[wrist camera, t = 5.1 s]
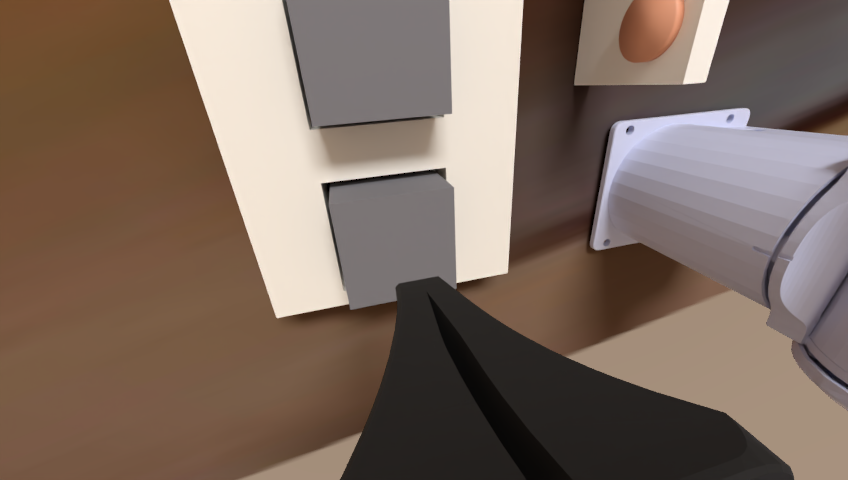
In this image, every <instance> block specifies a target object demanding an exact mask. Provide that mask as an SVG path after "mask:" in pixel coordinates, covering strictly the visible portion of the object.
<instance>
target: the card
mask: <svg viewBox="0 0 848 480" xmlns="http://www.w3.org/2000/svg"><path fill="white" fill-rule="evenodd" d="M728 3H729V0H585V1H584V9H583V17H582V25H581V33H580V41H579V49H578V56H577V64H576V72H575V80H574V85H661V84H692V83H703V82H706V79H707V76H708V72H709V69H710V65H711V62H712V58H713V55H714V51H715V48H716V44H717V41H718V37H719V34H720V30H721V27H722V23H723V20H724V17H725V13H726V10H727V6H728Z"/></svg>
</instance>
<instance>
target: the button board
mask: <svg viewBox="0 0 848 480" xmlns="http://www.w3.org/2000/svg"><path fill="white" fill-rule="evenodd" d="M169 1H170V4H171V7H172V10H173V13H174V16H175V19H176V22H177V25H178V28H179V31H180V34H181V37H182V39H183V42H184V45H185V48H186V51H187V54H188V57H189V60H190V63H191V66H192V69H193V72H194V75H195V78H196V81H197V84H198V87H199V90H200V93H201V96H202V99H203V102H204V105H205V107H206V110H207V113H208V116H209V119H210V122H211V125H212V128H213V131H214V134H215V137H216V140H217V143H218V146H219V149H220V152H221V155H222V158H223V161H224V164H225V167H226V170H227V173H228V176H229V178H230V181H231V184H232V187H233V190H234V193H235V196H236V199H237V202H238V205H239V208H240V211H241V214H242V217H243V220H244V223H245V226H246V229H247V232H248V235H249V238H250V241H251V244H252V246H253V249H254V252H255V255H256V258H257V261H258V264H259V267H260V270H261V273H262V276H263V279H264V282H265V285H266V288H267V291H268V294H269V297H270V300H271V303H272V306H273V309H274V312H275V314H276V317H277V318H280V317H285V316H290V315H295V314H301V313H306V312H311V311H316V310H321V309H326V308H331V307H336V306H341V305H347V304H349V301H348V296H347V291H346V286H345V281H344V277H343V272H342V267H341V262H340V257H339V253H338V248H337V243H336V238H335V233H334V228H333V224H332V219H331V214H330V209H329V196H328V191H327V186H326V183H328V182H336V181H344V180H352V179H360V178H368V177H376V176H384V175H391V174H399V173H407V172H415V171H423V170H431V169H432V171H436V172H437V173H438V174H439V175H440V176H441V177H443V178H444V179H445V180H446V181H447V182H448V183H450V184H451V185H452V186H453V187H454V206H455V246H456V283H459V282H464V281H469V280H475V279H480V278H485V277H490V276H495V275H500V274H505V273H508V259H509V242H510V224H511V207H512V189H513V172H514V155H515V137H516V120H517V102H518V85H519V68H520V50H521V33H522V15H523V0H449V9H450V48H451V88H452V114H444V115H433V116H423V117H412V118H401V119H391V120H380V121H369V122H359V123H348V124H337V125H327V126H316V127H312V122H311V118H310V113H309V108H308V103H307V98H306V94H305V89H304V84H303V79H302V74H301V69H300V65H299V60H298V55H297V50H296V45H295V41H294V36H293V31H292V26H291V21H290V16H289V12H288V7H287V2H286V0H169Z"/></svg>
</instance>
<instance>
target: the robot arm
mask: <svg viewBox="0 0 848 480" xmlns="http://www.w3.org/2000/svg"><path fill="white" fill-rule="evenodd" d="M749 116H750V111H749V109H747V108H736V109H726V110H717V111H708V112H699V113H690V114H681V115H671V116H662V117H653V118H644V119H635V120H626V121H619V122H616V123H615V124H614V125H613V126H612V127H611V130H610V134H609V140H608V145H607V151H606V156H605V162H604V167H603V173H602V179H601V184H600V190H599V195H598V201H597V206H596V212H595V217H594V223H593V228H592V234H591V239H590V247H591V248H593V249H594V250H603V249H608V248H613V247H619V246H624V245H629V244H634V243H639V242H640V243H642V244H644V245H646V246H648V247H650V248H652V249H654V250H656V251H658V252H659V253H661V254H663V255H665V256H667V257H669V258H671V259H673V260H675V261H677V262H679V263H681V264H683V265H685V266H687V267H689V268H691V269H693V270H695V271H697V272H699V273H700V274H702V275H704V276H706V277H708V278H710V279H712V280H714V281H716V282H718V283H720V284H722V285H724V286H726V287H728V288H730V289H732V290H734V291H736V292H738V293H740V294H741V295H744V296H745V297H747V298H749V299H751V300H753V301H755V302H757V303H759V304H761V305H763V306H765V307H767V308H769V309H771V312H770V315H769V318H768V320H767V322H766V324H767V326H769V327H771V328H773V329H775V330H776V331H778V332H780V333H782V334H784V335H785V336H787V337H789V338H791V339H793V341H792V349H791V350H792V354H793V357H794V359H795V360H796V362H797V364H798V365H799V367H800V368H801V369H802V370H803V371H804V373H805V374H806V375H807V376H808V377H809V378H810V379H811V380H812V381H813V382H814V383H815V384H816V385H817V386H818V387H819V388H820V389H821V390H822V391H823V392H825V393H826V394H827V395H828V396H829V397H830V398H831V399H833V400H834V401H835V402H836V403H838V404H839V405H840V406H842V407H843V408H844V409H846V410H847V411H848V136H842V135H832V134H821V133H811V132H800V131H789V130H779V129H768V128H758V127H747V126H746V125H747V122H748V119H749ZM628 127H629V129H628V132H627V133H626V130H627V128H628ZM605 240H606V241H605ZM604 241H605V242H604ZM395 289H396V297H397V317H396V325H395V331H394V337H393V341H392V346H391V350H390V355H389V359H388V362H387V366H386V369H385V373H384V376H383V379H382V382H381V385H380V388H379V391H378V394H377V396H376V399H375V402H374V404H373V407H372V410H371V413H370V415H369V418H368V420H367V422H366V425H365V427H364V430H363V432H362V434H361V436H360V438H359V441H358V443H357V445H356V447H355V449H354V452H353V453H352V456H351V458H350V460H349V462H348V464H347V467H346V469H345V471H344V473H343V475H342V477H341V479H340V480H794V476H793V473H792V471H791V468H790V466H788V465H787V464H786V463H785V462H783V461H782V460H781V459H780V458H779V457H778V456H776V455H775V454H774V453H773V452H771V451H770V450H769V449H768V448H767V447H766V446H765V445H763V444H762V443H761V442H760V441H758V440H757V439H756V438H755V437H754V436H753V435H751V434H750V433H749V432H748V431H747V430H745V429H744V428H743V427H742V426H741V425H739V424H738V423H737V422H736V421H735V420H733V419H732V418H731V417H730V416H728V415H727V414H726V413H724V412H720V411H717V410H713V409H710V408H707V407H704V406H700V405H697V404H693V403H690V402H687V401H684V400H680V399H677V398H674V397H671V396H667V395H664V394H661V393H657V392H654V391H651V390H648V389H645V388H643V387H640V386H637V385H634V384H631V383H629V382H626V381H623V380H620V379H617V378H614V377H612V376H609V375H607V374H604V373H602V372H599V371H596V370H594V369H592V368H589V367H587V366H585V365H583V364H580V363H578V362H575V361H573V360H571V359H569V358H567V357H564V356H562V355H560V354H558V353H556V352H554V351H552V350H549V349H547V348H546V347H544V346H542V345H540V344H538V343H536V342H534V341H532V340H530V339H528V338H527V337H525V336H523V335H521V334H519V333H518V332H516V331H514V330H512V329H511V328H509V327H508V326H506V325H504V324H503V323H501V322H500V321H498V320H496V319H495V318H493V317H492V316H490V315H489V314H487V313H486V312H485V311H483V310H482V309H480V308H479V307H478V306H476V305H475V304H474V303H472V302H471V301H470V300H468V299H467V298H466V297H464V296H463V295H462V294H460V293H459V292H458V291H457V290H455V289H454V288H453V287H452V286H450V285H449V284H448V283H447V282H445V281H444V280H443V279H441V278H440V277H439V276H436V277H431V278H425V279H420V280H415V281H409V282H404V283H399V284H398V285H397V286H396V287H395Z"/></svg>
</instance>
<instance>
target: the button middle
mask: <svg viewBox="0 0 848 480" xmlns="http://www.w3.org/2000/svg"><path fill="white" fill-rule="evenodd" d="M286 2H287V7H288V12H289V16H290V21H291V26H292V31H293V36H294V41H295V45H296V50H297V55H298V60H299V65H300V69H301V74H302V79H303V84H304V89H305V94H306V98H307V103H308V108H309V113H310V118H311V122H312V127H316V126H327V125H337V124H348V123H359V122H369V121H380V120H391V119H401V118H412V117H423V116H433V115H444V114H452V88H451V48H450V9H449V0H286Z"/></svg>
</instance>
